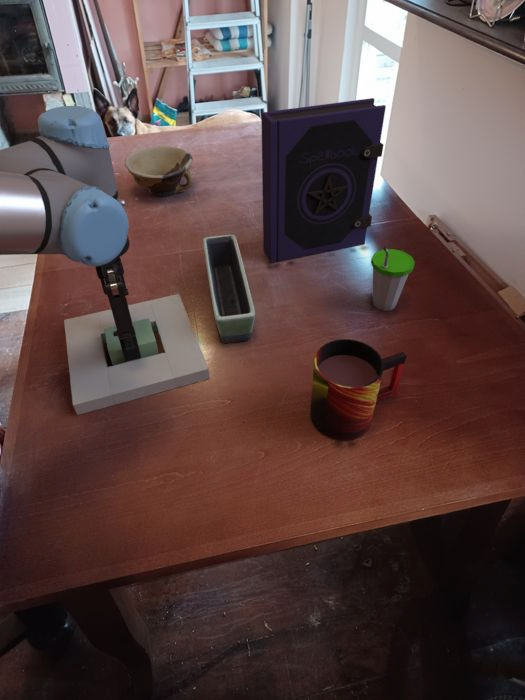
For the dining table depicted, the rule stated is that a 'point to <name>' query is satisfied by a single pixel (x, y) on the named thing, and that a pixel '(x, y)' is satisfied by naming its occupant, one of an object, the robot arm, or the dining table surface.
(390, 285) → the cup
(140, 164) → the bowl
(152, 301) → the base pad
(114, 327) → the green block
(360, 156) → the book
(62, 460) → the dining table surface
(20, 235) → the robot arm
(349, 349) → the mug
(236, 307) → the planter
